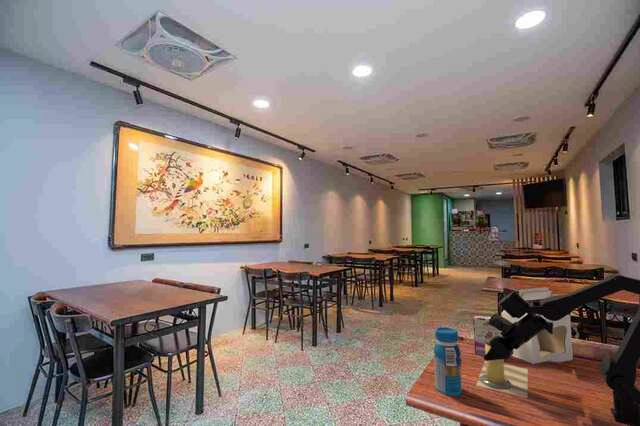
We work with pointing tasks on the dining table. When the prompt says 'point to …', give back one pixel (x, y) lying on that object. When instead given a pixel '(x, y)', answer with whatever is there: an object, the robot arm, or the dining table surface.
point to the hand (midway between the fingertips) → (489, 355)
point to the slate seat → (497, 386)
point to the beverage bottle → (447, 362)
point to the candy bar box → (483, 333)
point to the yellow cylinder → (494, 367)
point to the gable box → (544, 335)
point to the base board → (512, 374)
